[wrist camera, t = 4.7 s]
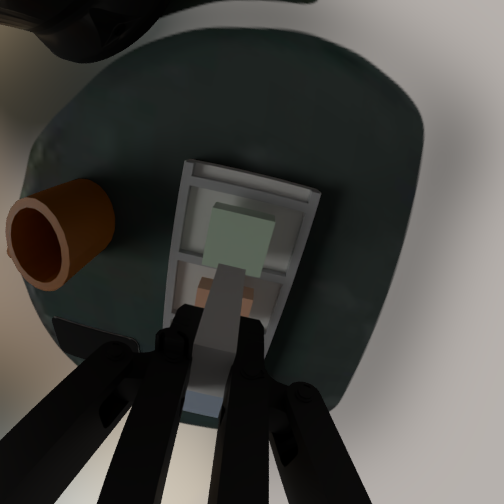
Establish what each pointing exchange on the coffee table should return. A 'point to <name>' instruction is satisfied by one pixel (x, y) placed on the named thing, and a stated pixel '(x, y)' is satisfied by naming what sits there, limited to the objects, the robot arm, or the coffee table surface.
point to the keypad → (246, 196)
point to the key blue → (202, 404)
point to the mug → (59, 232)
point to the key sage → (238, 238)
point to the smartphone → (85, 338)
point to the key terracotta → (205, 289)
